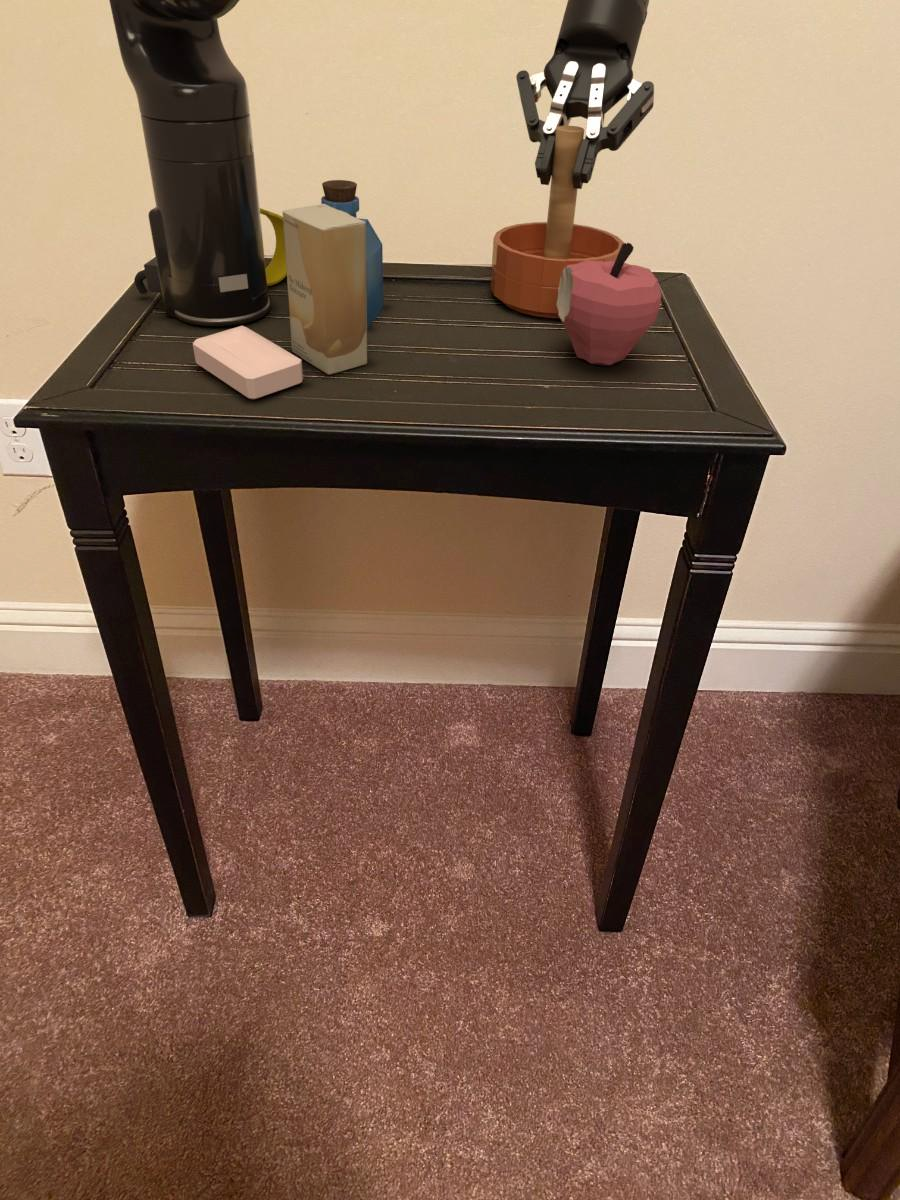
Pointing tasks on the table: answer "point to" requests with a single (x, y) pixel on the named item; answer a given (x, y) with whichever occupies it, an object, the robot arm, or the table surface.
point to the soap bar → (248, 362)
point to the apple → (607, 306)
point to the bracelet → (276, 250)
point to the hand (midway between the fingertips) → (560, 180)
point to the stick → (562, 192)
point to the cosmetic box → (327, 286)
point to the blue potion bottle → (344, 199)
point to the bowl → (541, 264)
